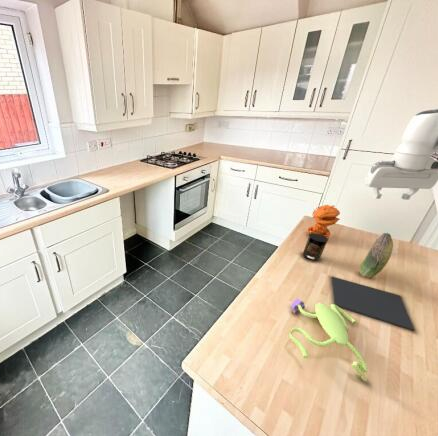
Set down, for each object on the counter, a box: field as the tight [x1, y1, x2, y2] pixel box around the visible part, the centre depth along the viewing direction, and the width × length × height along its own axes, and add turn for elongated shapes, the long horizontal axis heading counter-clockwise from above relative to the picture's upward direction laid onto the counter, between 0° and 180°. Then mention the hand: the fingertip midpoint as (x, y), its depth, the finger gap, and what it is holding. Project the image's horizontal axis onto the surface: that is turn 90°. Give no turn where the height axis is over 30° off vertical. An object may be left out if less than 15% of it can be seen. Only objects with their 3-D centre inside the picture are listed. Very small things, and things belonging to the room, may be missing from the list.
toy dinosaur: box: [306, 204, 341, 240], centre depth 116 cm, size 11×11×18 cm
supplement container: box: [302, 233, 329, 262], centre depth 104 cm, size 7×7×10 cm
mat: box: [331, 276, 415, 332], centre depth 84 cm, size 20×16×1 cm
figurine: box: [289, 298, 368, 383], centre depth 72 cm, size 18×27×6 cm
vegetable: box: [359, 232, 394, 279], centre depth 90 cm, size 6×6×20 cm
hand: (390, 198), depth 89 cm, fingers open, 8 cm apart
